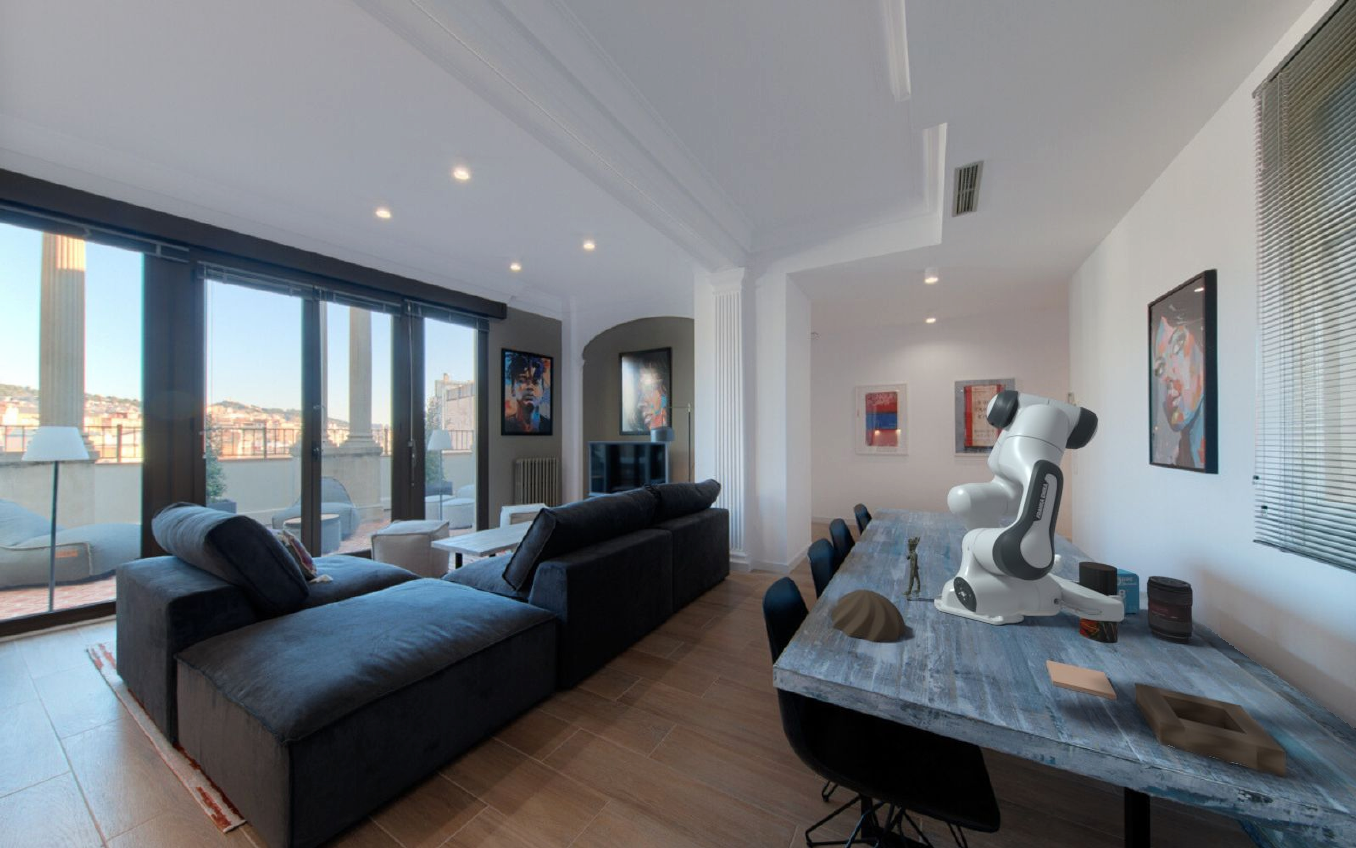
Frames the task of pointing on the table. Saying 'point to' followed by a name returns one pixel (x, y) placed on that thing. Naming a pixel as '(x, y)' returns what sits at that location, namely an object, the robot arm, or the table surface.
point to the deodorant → (1105, 583)
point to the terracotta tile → (1080, 679)
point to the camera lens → (1170, 609)
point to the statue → (913, 567)
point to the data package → (1128, 590)
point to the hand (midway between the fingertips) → (1101, 592)
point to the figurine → (1057, 565)
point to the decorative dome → (868, 617)
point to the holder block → (1209, 728)
